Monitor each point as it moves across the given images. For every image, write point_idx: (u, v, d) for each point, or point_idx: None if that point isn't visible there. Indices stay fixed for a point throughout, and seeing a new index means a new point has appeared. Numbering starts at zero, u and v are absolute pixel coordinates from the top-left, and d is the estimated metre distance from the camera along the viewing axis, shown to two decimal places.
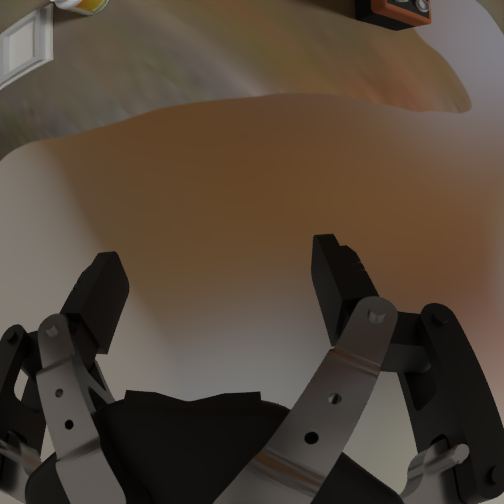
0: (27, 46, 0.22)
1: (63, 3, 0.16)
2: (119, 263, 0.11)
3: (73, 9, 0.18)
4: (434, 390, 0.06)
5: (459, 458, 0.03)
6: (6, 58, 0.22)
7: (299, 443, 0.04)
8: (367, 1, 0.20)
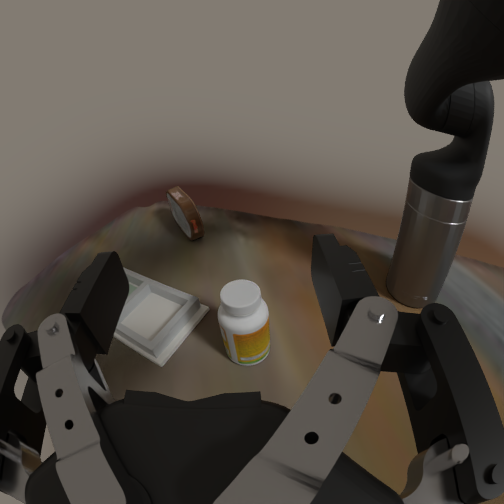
0: (154, 322, 0.36)
1: (227, 317, 0.28)
2: (119, 263, 0.11)
3: (228, 336, 0.28)
4: (434, 390, 0.06)
5: (459, 458, 0.03)
6: (130, 307, 0.38)
7: (299, 443, 0.04)
8: None
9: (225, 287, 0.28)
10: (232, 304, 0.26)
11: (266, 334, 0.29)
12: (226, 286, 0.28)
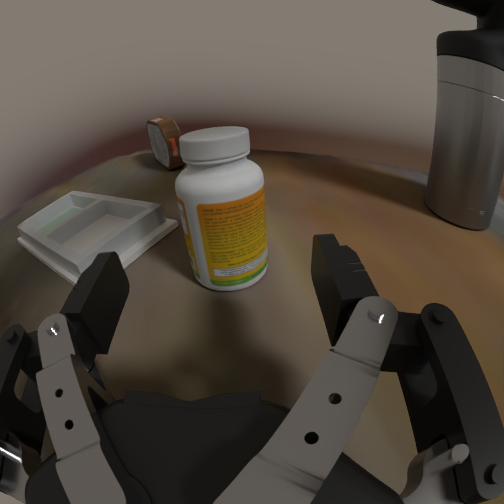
0: None
1: (188, 176, 0.15)
2: (119, 263, 0.11)
3: (189, 217, 0.15)
4: (434, 390, 0.06)
5: (459, 458, 0.03)
6: (73, 226, 0.25)
7: (299, 443, 0.04)
8: None
9: (190, 132, 0.15)
10: (195, 139, 0.13)
11: (260, 220, 0.17)
12: (192, 132, 0.16)
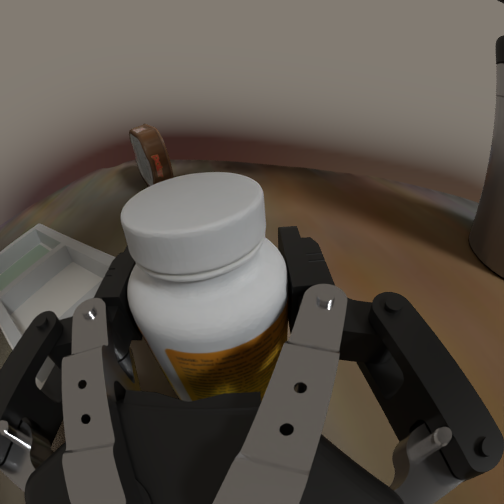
0: (57, 312, 0.16)
1: (145, 289, 0.08)
2: None
3: (157, 354, 0.08)
4: (401, 376, 0.07)
5: (443, 441, 0.04)
6: (31, 283, 0.18)
7: (276, 436, 0.04)
8: None
9: (148, 189, 0.08)
10: (146, 225, 0.06)
11: (280, 350, 0.09)
12: (152, 187, 0.08)
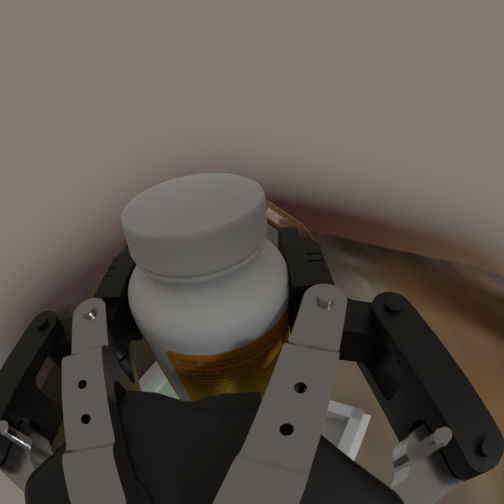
0: None
1: (146, 291, 0.07)
2: None
3: (158, 356, 0.08)
4: (401, 377, 0.07)
5: (443, 441, 0.04)
6: None
7: (276, 436, 0.04)
8: None
9: (149, 190, 0.08)
10: (148, 227, 0.06)
11: None
12: (153, 188, 0.08)
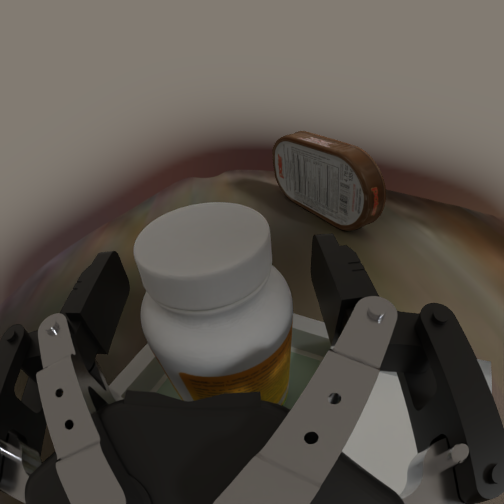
0: (404, 454, 0.09)
1: (159, 318, 0.08)
2: (119, 263, 0.11)
3: (170, 375, 0.09)
4: (434, 390, 0.06)
5: (459, 458, 0.03)
6: None
7: (299, 443, 0.04)
8: None
9: (158, 221, 0.09)
10: (161, 265, 0.07)
11: (285, 368, 0.10)
12: (162, 218, 0.09)
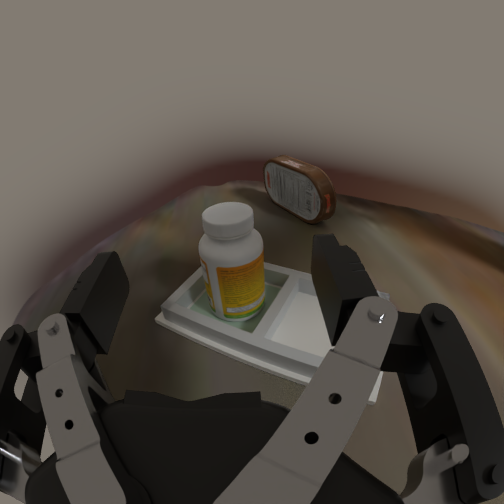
0: None
1: (209, 245, 0.22)
2: (119, 263, 0.11)
3: (210, 273, 0.22)
4: (434, 390, 0.06)
5: (459, 458, 0.03)
6: (281, 316, 0.24)
7: (299, 443, 0.04)
8: None
9: (209, 208, 0.22)
10: (215, 221, 0.20)
11: (260, 274, 0.23)
12: (210, 207, 0.22)
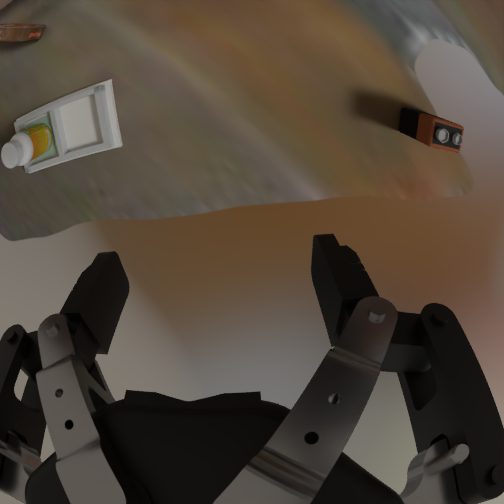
0: (87, 124, 0.34)
1: None
2: (119, 263, 0.11)
3: None
4: (434, 390, 0.06)
5: (459, 458, 0.03)
6: (62, 134, 0.34)
7: (299, 443, 0.04)
8: (413, 126, 0.33)
9: (2, 158, 0.26)
10: (11, 166, 0.27)
11: (39, 140, 0.30)
12: (2, 157, 0.26)
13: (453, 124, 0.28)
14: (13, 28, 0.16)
